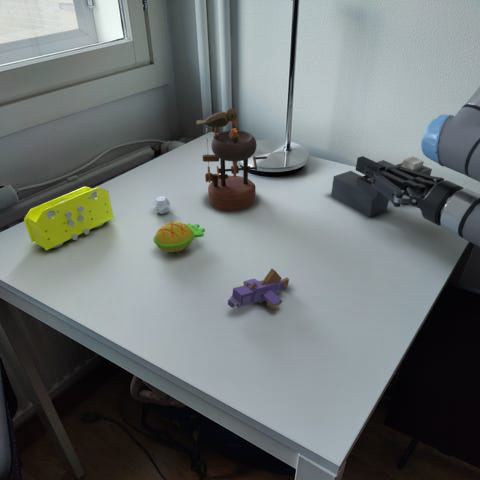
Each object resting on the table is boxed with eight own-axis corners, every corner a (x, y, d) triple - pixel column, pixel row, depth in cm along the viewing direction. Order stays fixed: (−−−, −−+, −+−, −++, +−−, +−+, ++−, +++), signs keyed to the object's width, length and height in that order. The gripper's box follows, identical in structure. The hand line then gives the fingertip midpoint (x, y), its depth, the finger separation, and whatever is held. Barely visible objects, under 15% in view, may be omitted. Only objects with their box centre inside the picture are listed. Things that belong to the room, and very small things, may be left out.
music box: (209, 217, 98) (201, 116, 86) (197, 198, 106) (188, 104, 94) (276, 205, 101) (277, 107, 89) (259, 188, 110) (258, 96, 98)
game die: (157, 206, 101) (156, 194, 99) (173, 208, 101) (172, 196, 99) (151, 214, 99) (149, 201, 97) (167, 216, 98) (165, 203, 96)
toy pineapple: (149, 247, 89) (145, 222, 85) (193, 231, 93) (191, 207, 90) (165, 264, 85) (162, 238, 81) (212, 246, 89) (210, 222, 85)
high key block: (391, 212, 99) (398, 181, 94) (371, 219, 96) (377, 188, 92) (348, 189, 107) (353, 160, 102) (329, 196, 104) (333, 166, 100)
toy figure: (245, 333, 73) (246, 312, 69) (215, 300, 77) (215, 279, 73) (302, 300, 77) (307, 279, 73) (272, 271, 81) (274, 249, 77)
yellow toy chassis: (48, 255, 87) (35, 215, 82) (32, 244, 90) (18, 205, 84) (115, 222, 96) (108, 184, 91) (99, 213, 99) (90, 176, 94)
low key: (421, 170, 99) (424, 161, 98) (412, 173, 98) (414, 164, 96) (410, 165, 101) (412, 156, 99) (401, 168, 100) (403, 159, 98)
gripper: (422, 236, 82) (333, 187, 97) (468, 217, 88) (377, 173, 102) (434, 197, 77) (338, 151, 92) (482, 179, 83) (384, 139, 98)
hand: (359, 163), depth 97 cm, fingers closed
